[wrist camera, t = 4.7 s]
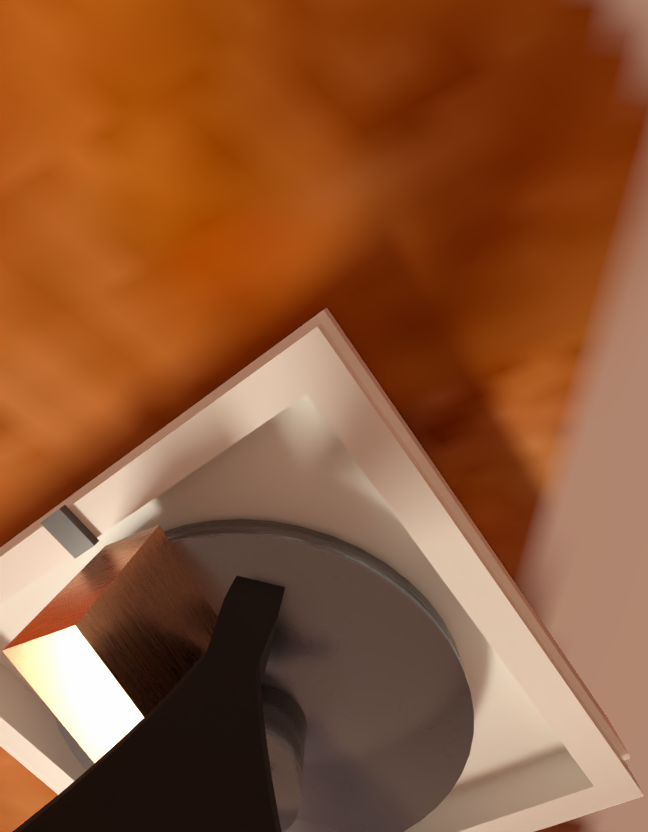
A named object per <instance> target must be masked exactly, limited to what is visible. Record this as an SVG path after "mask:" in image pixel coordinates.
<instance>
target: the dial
mask: <svg viewBox="0 0 648 832" xmlns="http://www.w3.org/2000/svg"><path fill="white" fill-rule="evenodd" d="M236 576H241V577H245V578H249V579H253V580H257V581H261V582H266V583H270V584H274V585H278V586H282V587H285V590H284V594H283V598H282V603H281V607H280V611H279V615H278V619H277V623H276V628H275V632H274V636H273V640H272V644H271V648H270V653H269V657H268V661H267V665H266V669H265V673H264V677H263V681H262V685H261V689H262V701H263V712H264V722H265V731H266V739H267V747H268V754H269V761H270V768H271V775H272V781H273V787H274V792H275V798H276V804H277V810H278V816H279V821H280V826H281V830H282V832H404V831H406V830H407V829H409V828H410V827H412V826H413V825H415V824H416V823H418V822H420V821H421V820H422V819H424V818H425V817H426V816H427V815H428V814H429V813H431V812H432V811H433V810H434V809H435V808H437V807H438V806H439V804H440V803H441V802H442V801H443V800H444V799H445V798H446V796H447V795H448V794H449V793H450V792H451V790H452V789H453V787H454V786H455V784H456V782H457V781H458V779H459V778H460V776H461V774H462V772H463V770H464V767H465V765H466V762H467V760H468V757H469V755H470V750H471V745H472V740H473V735H474V709H473V703H472V697H471V692H470V688H469V684H468V681H467V677H466V674H465V670H464V667H463V663H462V660H461V658H460V655H459V652H458V649H457V646H456V643H455V641H454V639H453V637H452V635H451V634H450V632H449V630H448V628H447V626H446V624H445V623H444V621H443V619H442V618H441V617H440V615H439V614H438V613H437V611H436V610H435V609H434V607H433V606H432V605H431V603H430V602H429V601H428V599H427V598H426V597H425V596H424V595H423V594H422V593H421V592H420V591H419V590H418V589H417V588H416V587H415V586H414V585H412V584H411V583H410V582H409V581H408V580H407V579H406V578H405V577H403V576H402V575H401V574H399V573H398V572H397V571H395V570H394V569H393V568H392V567H390V566H389V565H388V564H386V563H385V562H383V561H381V560H380V559H378V558H376V557H375V556H373V555H371V554H369V553H368V552H366V551H364V550H363V549H361V548H359V547H357V546H354V545H352V544H350V543H347V542H345V541H343V540H341V539H338V538H336V537H334V536H331V535H328V534H325V533H321V532H318V531H315V530H312V529H308V528H305V527H301V526H296V525H291V524H285V523H280V522H275V521H264V520H250V519H230V520H211V521H206V522H200V523H194V524H188V525H183V526H180V527H177V528H173V529H170V530H167V531H163V530H162V528H161V527H160V525H158V526H155V527H153V528H150V529H147V530H145V531H142V532H140V533H137V534H134V535H132V536H129V537H127V538H124V539H122V540H119V541H116V542H114V543H111V544H109V545H106V546H104V548H103V549H102V550H101V551H100V552H99V553H98V554H97V555H96V556H95V557H94V558H93V559H92V560H91V561H90V562H89V563H88V564H87V565H86V566H85V567H84V568H83V569H82V570H81V571H80V572H79V573H78V574H77V575H76V576H75V577H74V578H73V579H72V580H71V581H70V582H69V583H68V584H67V585H66V586H65V587H64V588H63V589H62V590H61V591H60V592H59V593H58V594H57V595H56V596H55V597H54V598H53V599H52V600H51V601H50V602H49V603H48V604H47V606H46V607H45V608H44V609H43V610H42V611H41V612H40V613H39V614H38V615H37V616H36V617H35V618H34V619H33V620H32V621H31V622H30V623H29V624H28V625H27V626H26V627H25V628H24V629H23V630H22V631H21V632H20V633H19V634H18V635H17V636H16V637H15V638H14V639H13V640H12V641H11V642H10V643H9V644H8V645H7V646H6V647H5V648H4V649H3V650H2V651H3V652H4V654H5V655H6V656H7V657H8V659H9V660H10V661H11V662H12V663H13V665H14V666H15V667H16V668H17V670H18V671H19V672H20V673H21V674H22V676H23V677H24V678H25V679H26V680H27V682H28V683H29V684H30V685H31V687H32V688H33V689H34V690H35V691H36V693H37V694H38V695H39V696H40V698H41V699H42V700H43V701H44V702H45V704H46V705H47V706H48V707H49V708H50V710H51V711H52V712H53V715H54V717H55V720H56V723H57V725H58V728H59V730H60V732H61V734H62V736H63V738H64V739H65V741H66V743H67V745H68V746H69V748H70V750H71V751H72V753H73V754H74V755H75V757H76V758H77V759H78V761H79V762H80V763H81V765H82V766H83V767H84V769H85V770H86V771H87V770H88V769H89V768H90V767H91V766H92V765H93V764H94V763H96V762H97V761H98V760H99V759H100V758H101V757H102V756H103V755H104V754H106V753H107V752H108V751H109V750H110V749H111V748H112V747H113V746H114V745H116V744H117V743H118V742H119V741H120V740H121V739H122V738H123V737H124V736H125V735H126V734H127V733H128V732H129V731H131V730H132V729H133V728H134V727H135V726H136V725H137V724H138V723H139V722H140V721H141V720H142V719H143V718H144V717H145V716H146V715H147V714H148V713H149V712H150V711H151V710H152V709H153V708H154V707H155V706H156V705H157V704H158V703H159V702H160V701H161V700H162V699H163V698H164V697H165V696H166V695H167V694H168V693H169V692H170V691H171V690H172V689H173V687H174V686H175V685H176V684H177V683H178V682H179V681H180V680H181V679H182V678H183V676H184V675H185V674H186V673H187V672H188V671H189V670H190V669H191V668H192V666H193V665H194V664H195V663H196V662H197V661H198V660H199V659H200V658H201V656H202V655H203V654H204V653H205V652H206V651H207V649H208V646H209V643H210V640H211V637H212V634H213V630H214V627H215V624H216V621H217V619H218V616H219V613H220V610H221V607H222V604H223V601H224V598H225V596H226V594H227V592H228V590H229V588H230V586H231V585H232V583H233V581H234V579H235V578H236Z"/></svg>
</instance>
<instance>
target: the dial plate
mask: <svg viewBox="0 0 648 832" xmlns="http://www.w3.org/2000/svg"><path fill="white" fill-rule="evenodd" d="M230 519H250V520H264V521H275V522H280V523H285V524H291V525H296V526H301V527H305V528H308V529H312V530H315V531H318V532H321V533H325V534H328V535H331V536H334V537H336V538H338V539H341V540H343V541H345V542H347V543H350V544H352V545H354V546H357V547H359V548H361V549H363V550H364V551H366V552H368V553H369V554H371V555H373V556H375V557H376V558H378V559H380V560H381V561H383V562H385V563H386V564H388V565H389V566H390V567H392V568H393V569H394V570H395V571H397V572H398V573H399V574H401V575H402V576H403V577H405V578H406V579H407V580H408V581H409V582H410V583H411V584H412V585H414V586H415V587H416V588H417V589H418V590H419V591H420V592H421V593H422V594H423V595H424V596H425V597H426V598H427V599H428V601H429V602H430V603H431V605H432V606H433V607H434V609H435V610H436V611H437V613H438V614H439V615H440V617H441V618H442V619H443V621H444V623H445V624H446V626H447V628H448V630H449V632H450V634H451V635H452V637H453V639H454V641H455V643H456V646H457V649H458V652H459V655H460V658H461V660H462V663H463V667H464V670H465V674H466V677H467V681H468V684H469V688H470V692H471V697H472V703H473V709H474V735H473V740H472V745H471V750H470V755H469V757H468V760H467V762H466V765H465V767H464V770H463V772H462V774H461V776H460V778H459V779H458V781H457V782H456V784H455V786H454V787H453V789H452V790H451V792H450V793H449V794H448V795H447V796H446V798H445V799H444V800H443V801H442V802H441V803H440V804H439V806H438V807H437V808H435V809H434V810H433V811H432V812H431V813H429V814H428V815H427V816H426V817H425V818H424V819H422V820H421V821H420V822H418V823H416V824H415V825H413V826H412V827H410V828H409V829H407V830H406V831H404V832H535V831H538V830H541V829H544V828H548V827H551V826H554V825H557V824H560V823H563V822H566V821H569V820H573V819H576V818H579V817H582V816H585V815H588V814H591V813H594V812H598V811H601V810H604V809H607V808H610V807H613V806H616V805H619V804H622V803H626V802H629V801H632V800H635V799H638V798H641V797H644V794H643V792H642V791H641V789H640V787H639V785H638V784H637V782H636V780H635V778H634V777H633V775H632V773H631V772H630V770H629V768H628V766H627V765H626V763H625V760H628V759H631V757H630V755H629V754H628V752H627V750H626V749H625V747H624V745H623V744H622V742H621V740H620V739H619V737H618V735H617V733H616V732H615V730H614V729H613V727H612V725H611V723H610V722H609V720H608V718H607V717H606V715H605V714H604V712H603V711H602V709H601V708H600V707H599V705H598V704H597V702H596V701H595V699H594V698H593V696H592V695H591V693H590V692H589V690H588V689H587V688H586V686H585V685H584V683H583V682H582V680H581V679H580V678H579V676H578V674H577V673H576V671H575V670H574V668H573V667H572V666H571V664H570V663H569V661H568V660H567V658H566V657H565V655H564V654H563V652H562V651H561V649H560V648H559V646H558V645H557V644H556V642H555V641H554V639H553V638H552V636H551V635H550V633H549V632H548V630H547V629H546V627H545V626H544V625H543V623H542V622H541V620H540V619H539V617H538V616H537V614H536V613H535V611H534V610H533V608H532V607H531V605H530V604H529V603H528V601H527V600H526V598H525V597H524V595H523V594H522V592H521V591H520V589H519V588H518V586H517V585H516V584H515V582H514V581H513V579H512V578H511V576H510V575H509V573H508V572H507V570H506V569H505V567H504V566H503V564H502V563H501V562H500V560H499V559H498V557H497V556H496V554H495V553H494V551H493V550H492V548H491V547H490V545H489V544H488V543H487V541H486V540H485V538H484V537H483V535H482V534H481V532H480V531H479V529H478V528H477V526H476V525H475V524H474V522H473V521H472V519H471V518H470V516H469V515H468V513H467V512H466V510H465V509H464V507H463V506H462V504H461V503H460V502H459V500H458V499H457V497H456V496H455V494H454V493H453V491H452V490H451V488H450V487H449V485H448V484H447V483H446V481H445V480H444V478H443V477H442V475H441V474H440V472H439V471H438V469H437V468H436V466H435V465H434V463H433V462H432V461H431V459H430V458H429V456H428V455H427V453H426V452H425V450H424V449H423V447H422V446H421V444H420V443H419V442H418V440H417V439H416V437H415V436H414V434H413V433H412V431H411V430H410V428H409V427H408V425H407V424H406V422H405V421H404V420H403V418H402V417H401V415H400V414H399V412H398V411H397V409H396V408H395V406H394V405H393V403H392V402H391V401H390V399H389V398H388V396H387V395H386V393H385V392H384V390H383V389H382V387H381V386H380V384H379V383H378V381H377V380H376V379H375V377H374V376H373V374H372V373H371V371H370V370H369V368H368V367H367V365H366V364H365V362H364V361H363V360H362V358H361V357H360V355H359V354H358V352H357V351H356V349H355V348H354V346H353V345H352V343H351V342H350V340H349V339H348V338H347V336H346V335H345V333H344V332H343V330H342V329H341V327H340V326H339V324H338V323H337V321H336V320H335V319H334V317H333V316H332V314H331V313H330V311H329V310H328V308H326V309H324V310H322V311H321V312H320V313H318V314H317V315H316V316H314V317H313V318H311V319H310V320H309V321H307V322H306V323H305V324H303V325H302V326H301V327H299V328H298V329H297V330H295V331H294V332H292V333H291V334H290V335H288V336H287V337H286V338H284V339H283V340H282V341H280V342H279V343H277V344H276V345H275V346H273V347H272V348H271V349H269V350H268V351H267V352H265V353H264V354H263V355H261V356H260V357H258V358H257V359H256V360H254V361H253V362H252V363H250V364H249V365H248V366H246V367H245V368H244V369H242V370H241V371H239V372H238V373H237V374H235V375H234V376H233V377H231V378H230V379H229V380H227V381H226V382H224V383H223V384H222V385H220V386H219V387H218V388H216V389H215V390H214V391H212V392H211V393H210V394H208V395H207V396H205V397H204V398H203V399H201V400H200V401H199V402H197V403H196V404H195V405H193V406H192V407H190V408H189V409H188V410H186V411H185V412H184V413H182V414H181V415H180V416H178V417H177V418H176V419H174V420H173V421H171V422H170V423H169V424H167V425H166V426H165V427H163V428H162V429H161V430H159V431H158V432H157V433H155V434H154V435H152V436H151V437H150V438H148V439H147V440H146V441H144V442H143V443H142V444H140V445H139V446H137V447H136V448H135V449H133V450H132V451H131V452H129V453H128V454H127V455H125V456H124V457H123V458H121V459H120V460H118V461H117V462H116V463H114V464H113V465H112V466H110V467H109V468H108V469H106V470H105V471H103V472H102V473H101V474H99V475H98V476H97V477H95V478H94V479H93V480H91V481H90V482H89V483H87V484H86V485H84V486H83V487H82V488H80V489H79V490H78V491H76V492H75V493H74V494H72V495H71V496H70V497H68V498H67V499H65V500H64V501H63V502H61V503H60V504H59V505H57V506H56V507H55V508H53V509H52V510H50V511H49V512H48V513H46V514H45V515H44V516H42V517H41V518H40V519H38V520H37V521H36V522H34V523H33V524H31V525H30V526H29V527H27V528H26V529H25V530H23V531H22V532H21V533H19V534H18V535H16V536H15V537H14V538H12V539H11V540H10V541H8V542H7V543H6V544H4V545H3V546H2V547H0V746H1V747H2V748H3V749H5V750H6V751H7V752H8V753H9V754H10V755H12V756H13V757H14V758H15V759H16V760H18V761H19V762H20V763H21V764H22V765H24V766H25V767H26V768H27V769H28V770H29V771H31V772H32V773H33V774H34V775H35V776H37V777H38V778H39V779H40V780H41V781H43V782H44V783H45V784H46V785H47V786H48V787H50V788H51V789H52V790H53V791H54V792H56V793H57V794H58V795H59V794H60V793H61V792H62V791H64V790H65V789H66V788H67V787H68V786H69V785H71V784H72V783H73V782H74V781H75V780H76V779H77V778H79V777H80V776H81V775H82V774H83V773H84V772H86V770H85V769H84V767H83V766H82V765H81V763H80V762H79V761H78V759H77V758H76V757H75V755H74V754H73V753H72V751H71V750H70V748H69V746H68V745H67V743H66V741H65V739H64V738H63V736H62V734H61V732H60V730H59V728H58V725H57V723H56V720H55V717H54V715H53V712H52V711H51V710H50V708H49V707H48V706H47V705H46V704H45V702H44V701H43V700H42V699H41V698H40V696H39V695H38V694H37V693H36V691H35V690H34V689H33V688H32V687H31V685H30V684H29V683H28V682H27V680H26V679H25V678H24V677H23V676H22V674H21V673H20V672H19V671H18V670H17V668H16V667H15V666H14V665H13V663H12V662H11V661H10V660H9V659H8V657H7V656H6V655H5V654H4V652H3V651H2V650H3V649H4V648H5V647H6V646H7V645H8V644H9V643H10V642H11V641H12V640H13V639H14V638H15V637H16V636H17V635H18V634H19V633H20V632H21V631H22V630H23V629H24V628H25V627H26V626H27V625H28V624H29V623H30V622H31V621H32V620H33V619H34V618H35V617H36V616H37V615H38V614H39V613H40V612H41V611H42V610H43V609H44V608H45V607H46V606H47V604H48V603H49V602H50V601H51V600H52V599H53V598H54V597H55V596H56V595H57V594H58V593H59V592H60V591H61V590H62V589H63V588H64V587H65V586H66V585H67V584H68V583H69V582H70V581H71V580H72V579H73V578H74V577H75V576H76V575H77V574H78V573H79V572H80V571H81V570H82V569H83V568H84V567H85V566H86V565H87V564H88V563H89V562H90V561H91V560H92V559H93V558H94V557H95V556H96V555H97V554H98V553H99V552H100V551H101V550H102V549H103V548H104V546H106V545H109V544H111V543H114V542H116V541H119V540H122V539H124V538H127V537H129V536H132V535H134V534H137V533H140V532H142V531H145V530H147V529H150V528H153V527H155V526H158V525H160V527H161V528H162V530H163V531H167V530H170V529H173V528H177V527H180V526H183V525H188V524H194V523H200V522H206V521H211V520H230Z"/></svg>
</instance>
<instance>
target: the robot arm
mask: <svg viewBox="0 0 648 832" xmlns="http://www.w3.org/2000/svg"><path fill="white" fill-rule="evenodd" d="M284 590H285V587H282V586H278V585H274V584H270V583H266V582H261V581H257V580H253V579H249V578H245V577H241V576H236V578H235V579H234V581H233V583H232V585H231V586H230V588H229V590H228V592H227V594H226V596H225V598H224V601H223V604H222V607H221V610H220V613H219V616H218V619H217V621H216V624H215V627H214V630H213V634H212V637H211V640H210V643H209V646H208V649H207V651H206V652H205V653H204V654H203V655H202V656H201V658H200V659H199V660H198V661H197V662H196V663H195V664H194V665H193V666H192V668H191V669H190V670H189V671H188V672H187V673H186V674H185V675H184V676H183V678H182V679H181V680H180V681H179V682H178V683H177V684H176V685H175V686H174V687H173V689H172V690H171V691H170V692H169V693H168V694H167V695H166V696H165V697H164V698H163V699H162V700H161V701H160V702H159V703H158V704H157V705H156V706H155V707H154V708H153V709H152V710H151V711H150V712H149V713H148V714H147V715H146V716H145V717H144V718H143V719H142V720H141V721H140V722H139V723H138V724H137V725H136V726H135V727H134V728H133V729H132V730H131V731H129V732H128V733H127V734H126V735H125V736H124V737H123V738H122V739H121V740H120V741H119V742H118V743H117V744H116V745H114V746H113V747H112V748H111V749H110V750H109V751H108V752H107V753H106V754H104V755H103V756H102V757H101V758H100V759H99V760H98V761H97V762H96V763H94V764H93V765H92V766H91V767H90V768H89V769H88V770H87V771H86V772H84V773H83V774H82V775H81V776H80V777H79V778H77V779H76V780H75V781H74V782H73V783H72V784H71V785H69V786H68V787H67V788H66V789H65V790H64V791H62V792H61V793H60V794H59V795H58V796H56V797H55V798H54V799H53V800H52V801H50V802H49V803H48V804H47V805H45V806H44V807H43V808H42V809H40V810H39V811H38V812H37V813H35V814H34V815H33V816H32V817H30V818H29V819H28V820H27V821H25V822H24V823H23V824H22V825H21V826H19V827H18V828H17V829H16V830H14V831H13V832H282V830H281V826H280V821H279V816H278V810H277V804H276V798H275V792H274V787H273V781H272V775H271V768H270V761H269V754H268V747H267V739H266V731H265V722H264V712H263V701H262V689H261V685H262V681H263V677H264V673H265V669H266V665H267V661H268V657H269V653H270V648H271V644H272V640H273V636H274V632H275V628H276V623H277V619H278V615H279V611H280V607H281V603H282V598H283V594H284Z"/></svg>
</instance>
